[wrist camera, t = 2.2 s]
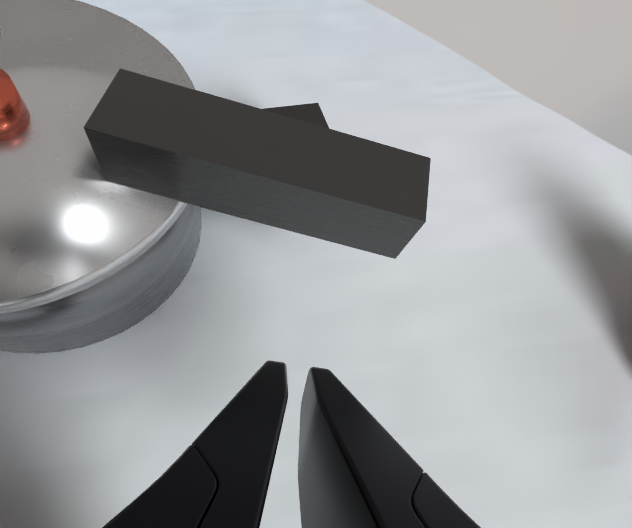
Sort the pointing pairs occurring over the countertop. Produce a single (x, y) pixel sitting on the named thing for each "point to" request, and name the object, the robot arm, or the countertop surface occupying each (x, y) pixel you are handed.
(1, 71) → the cooker lid
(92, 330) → the cooker pot
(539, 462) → the countertop surface
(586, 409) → the countertop surface
